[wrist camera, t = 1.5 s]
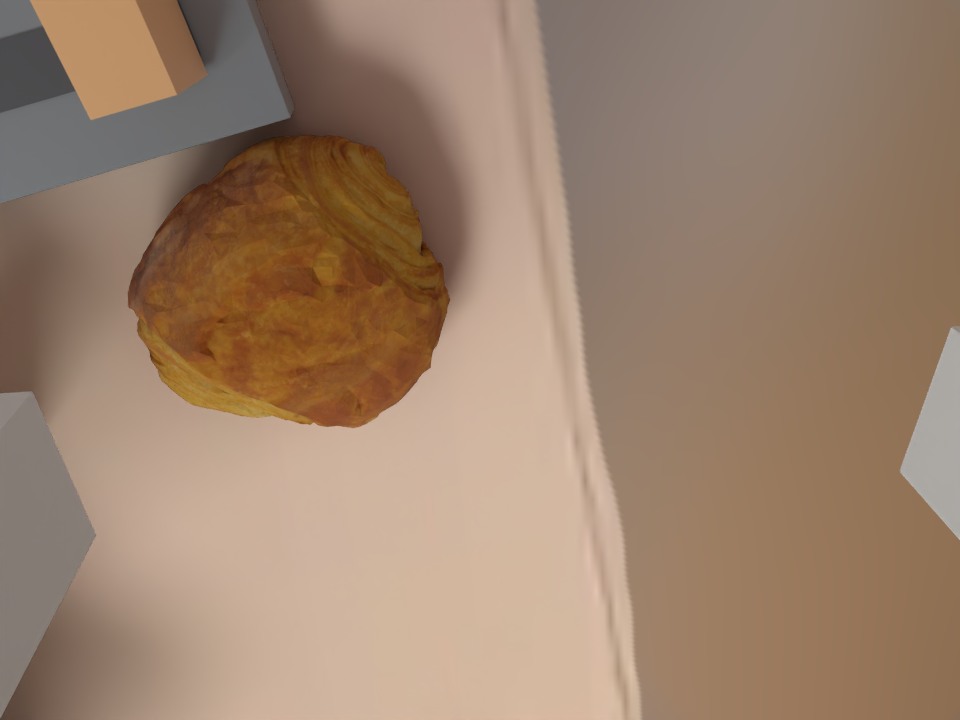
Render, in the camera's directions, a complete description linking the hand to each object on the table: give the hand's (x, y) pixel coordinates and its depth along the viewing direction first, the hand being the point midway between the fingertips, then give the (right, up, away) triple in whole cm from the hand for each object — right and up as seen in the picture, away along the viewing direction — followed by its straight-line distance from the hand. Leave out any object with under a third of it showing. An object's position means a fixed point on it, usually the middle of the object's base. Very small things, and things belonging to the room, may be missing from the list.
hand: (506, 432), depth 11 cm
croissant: (-10, +5, +27) cm, 29 cm away
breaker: (-14, +14, +18) cm, 26 cm away
